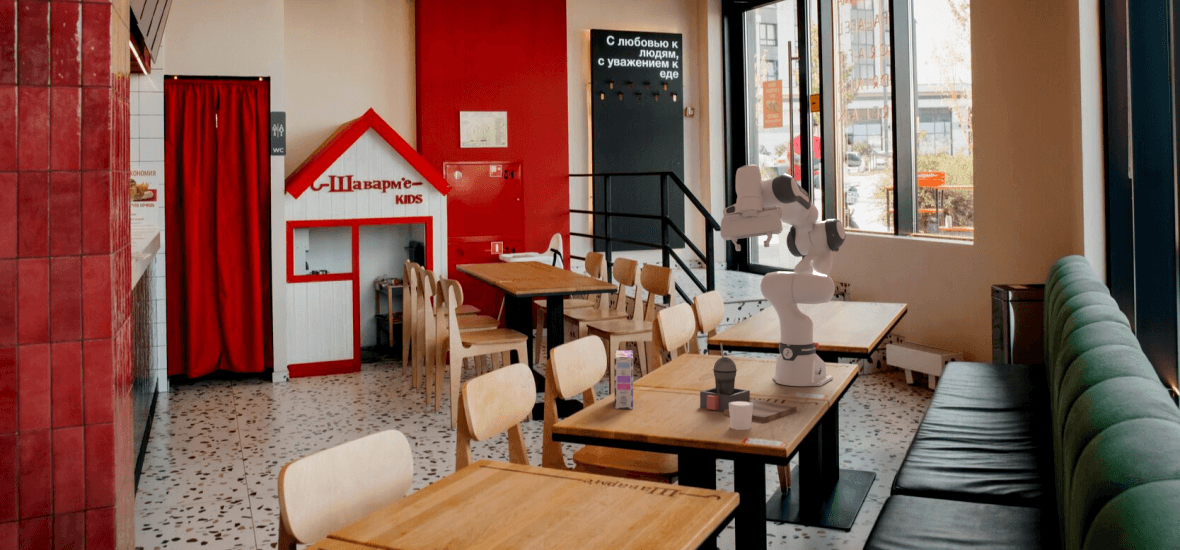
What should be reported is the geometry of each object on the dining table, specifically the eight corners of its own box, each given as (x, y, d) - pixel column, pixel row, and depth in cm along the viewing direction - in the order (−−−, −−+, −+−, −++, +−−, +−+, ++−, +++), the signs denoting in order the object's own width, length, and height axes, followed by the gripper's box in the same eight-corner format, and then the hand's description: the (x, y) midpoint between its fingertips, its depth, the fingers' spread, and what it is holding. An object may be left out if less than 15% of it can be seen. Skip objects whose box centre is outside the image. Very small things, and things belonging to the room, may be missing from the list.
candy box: (633, 409, 281) (632, 357, 279) (614, 409, 281) (613, 357, 280) (633, 399, 295) (633, 349, 293) (615, 399, 295) (615, 349, 294)
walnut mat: (757, 404, 285) (757, 399, 285) (796, 411, 276) (796, 406, 276) (724, 414, 272) (724, 410, 272) (764, 422, 263) (764, 417, 263)
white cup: (740, 431, 253) (741, 407, 252) (723, 427, 258) (723, 402, 258) (758, 427, 257) (758, 403, 256) (740, 423, 262) (740, 399, 262)
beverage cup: (736, 409, 279) (736, 345, 277) (712, 409, 280) (712, 344, 278) (737, 404, 286) (737, 341, 284) (713, 403, 287) (713, 341, 286)
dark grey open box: (720, 401, 291) (720, 385, 290) (749, 406, 283) (749, 390, 283) (696, 408, 281) (696, 392, 281) (725, 413, 274) (725, 397, 273)
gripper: (783, 209, 302) (785, 247, 297) (722, 217, 309) (724, 255, 305) (779, 201, 296) (782, 241, 292) (718, 210, 304) (720, 249, 299)
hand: (752, 248), depth 298 cm, fingers open, 8 cm apart
